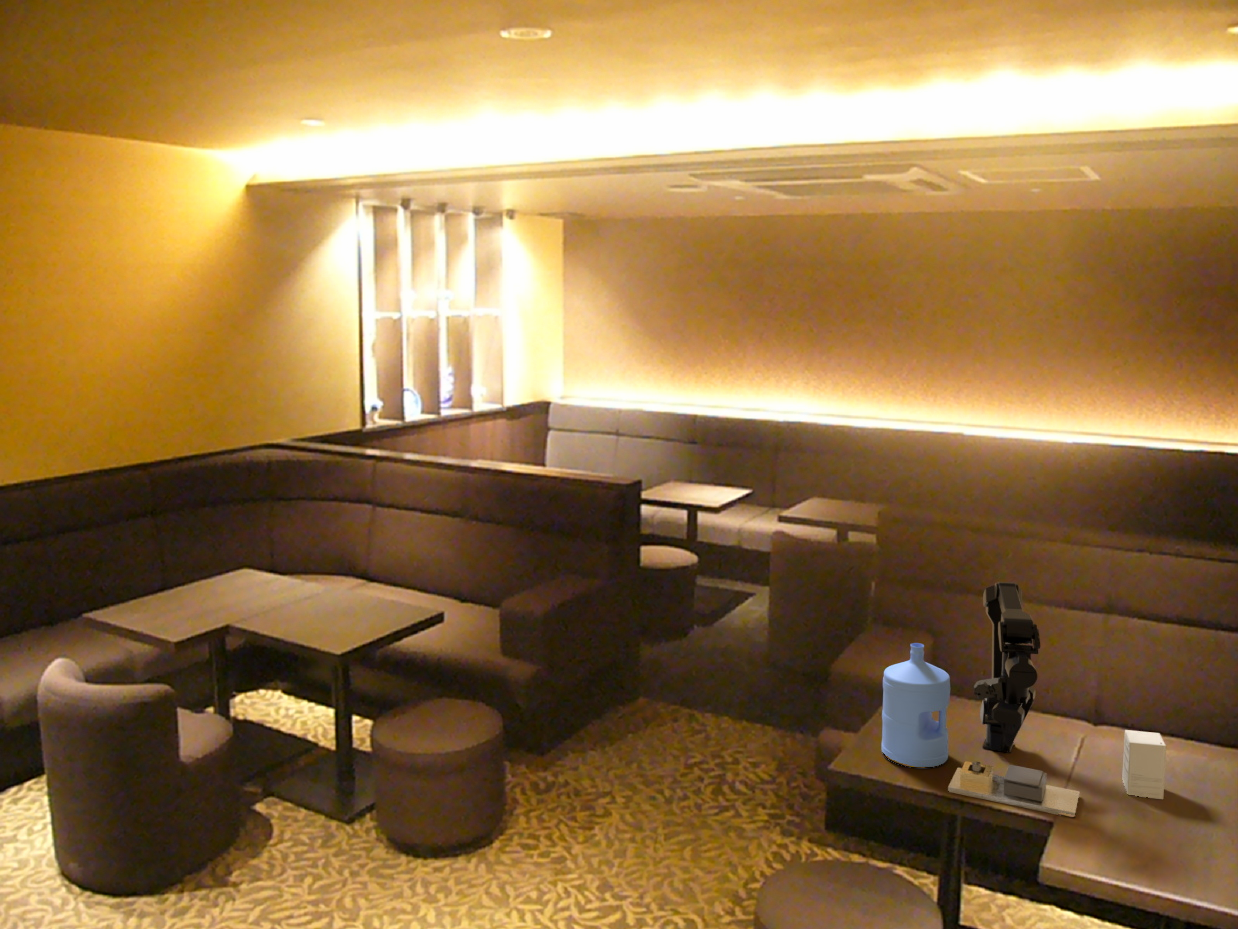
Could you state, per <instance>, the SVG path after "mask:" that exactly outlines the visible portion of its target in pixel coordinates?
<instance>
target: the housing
mask: <svg viewBox="0 0 1238 929" xmlns="http://www.w3.org/2000/svg"><path fill="white" fill-rule="evenodd" d="M1047 775H1048V774H1047V772H1044V770H1039V769H1034V768H1028V767H1025V766H1018V765H1013V764H1009V765H1008V767H1007V770H1006V772H1005V775H1004V777H1005V778H1004V794H1007V795H1012V796H1017V797H1022V798H1026V799H1031V800H1036V801H1041V802H1042V799H1043V796H1044V792H1045V789H1046V785H1047V780H1048V778H1047V777H1048V776H1047Z"/></svg>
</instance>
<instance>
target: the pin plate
mask: <svg viewBox="0 0 1238 929" xmlns="http://www.w3.org/2000/svg"><path fill="white" fill-rule="evenodd" d="M981 764H982V763H981V762H979V761H975V760H974V761H972V771H973V772H978V773H980V772H981ZM961 769H962V767H957V768H956V770H955V772H954V773H953V776H952V779H950V783H949V784H948V786H947V792H948V791H949V792H948V793H952V794H953V793H954V794H958V795H963V796H965V797H966V796H967V797H972V798H976V799H980V800H985V801H986V800H987V801H991V802H995V803H1000V804H1005V805H1009V806H1014V807H1017V808H1018V807H1019V808H1023V809H1029V810H1033V811H1039V812H1042V813H1048V814H1052V815H1058V814H1059V813H1061V812H1062V813H1066V814H1071V815H1075V813H1076V814H1077V810H1076V808H1077V809H1078V806H1077V803H1078V804H1079V801H1078V798H1079V799H1080V795H1079V794H1081V793H1080V792H1081V791H1078V790H1074V789H1068V788H1064V787H1059V786H1053V785H1049V784H1046V789H1045V792H1044V796H1043V799H1042V802H1041V801H1036V800H1031V799H1026V798H1022V797H1017V796H1012V795H1007V794H1004V778H1005V775H1004V776H1003V775H997V774H993V776H992V781H991V784H990V786H989V789H988V790H987V789H982V788H977V787H972V786H967V785H962V784H960V773H961ZM1058 816H1059V815H1058ZM1075 816H1076V815H1075Z"/></svg>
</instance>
